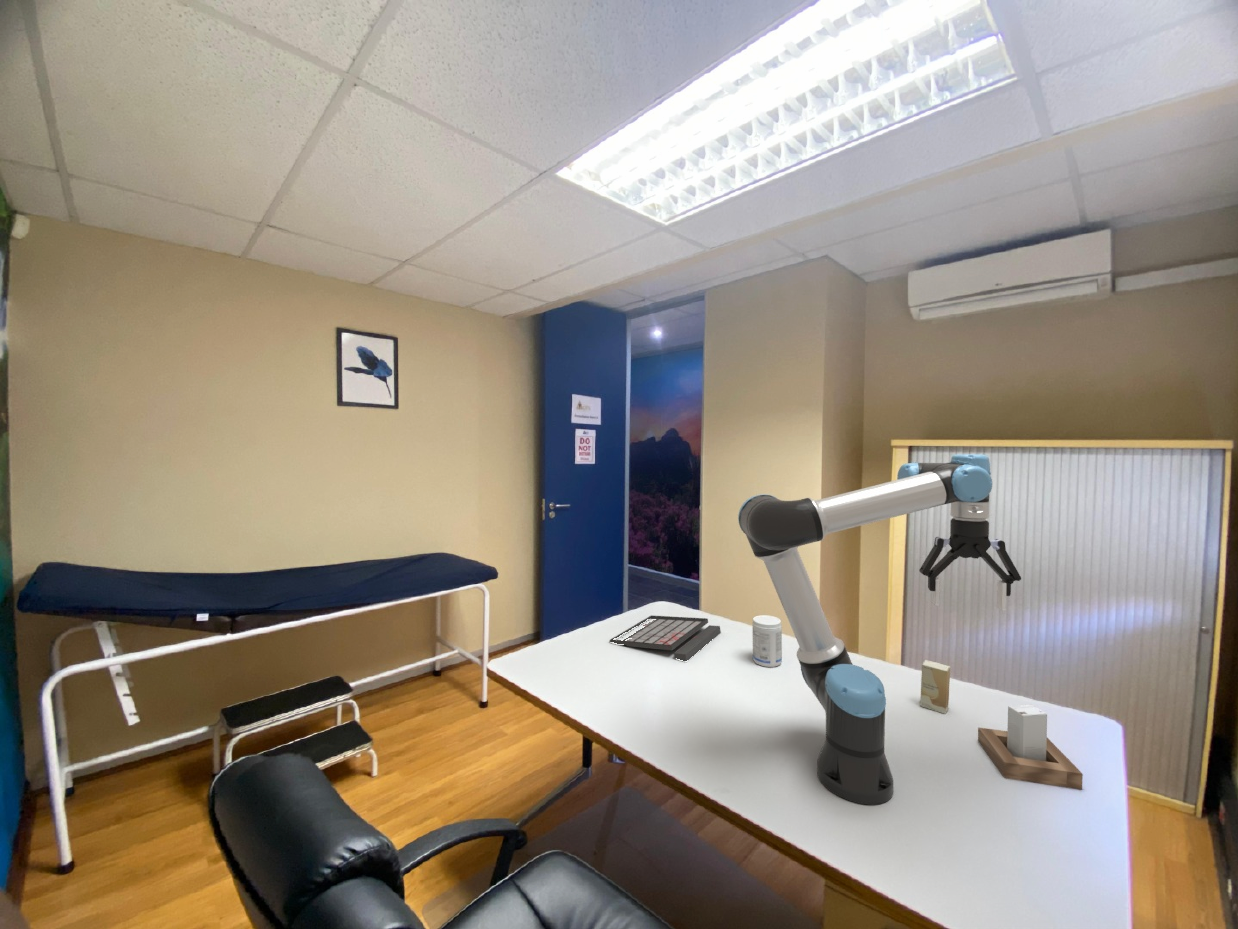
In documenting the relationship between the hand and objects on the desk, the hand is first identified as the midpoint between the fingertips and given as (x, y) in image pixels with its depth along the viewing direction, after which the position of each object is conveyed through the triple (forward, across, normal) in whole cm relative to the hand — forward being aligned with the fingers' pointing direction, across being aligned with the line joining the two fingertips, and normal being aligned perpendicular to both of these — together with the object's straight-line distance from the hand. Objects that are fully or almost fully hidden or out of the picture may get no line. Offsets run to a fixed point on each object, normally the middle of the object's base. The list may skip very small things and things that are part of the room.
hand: (967, 606), depth 118 cm
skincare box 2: (+34, +11, -3) cm, 36 cm away
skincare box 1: (+35, -1, +19) cm, 40 cm away
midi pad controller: (+36, -83, +49) cm, 103 cm away
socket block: (+35, +11, -3) cm, 37 cm away
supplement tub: (+35, -46, +37) cm, 69 cm away
